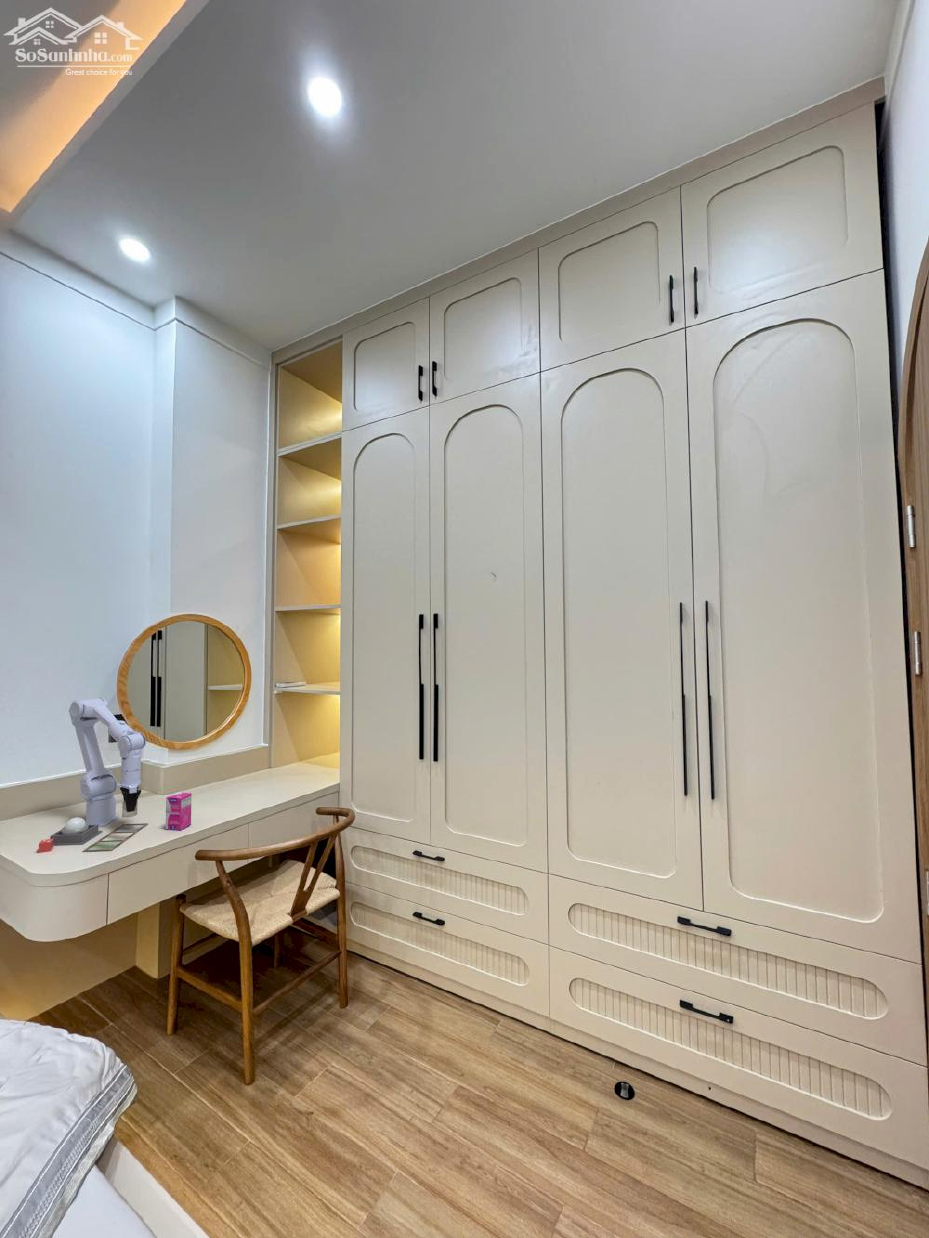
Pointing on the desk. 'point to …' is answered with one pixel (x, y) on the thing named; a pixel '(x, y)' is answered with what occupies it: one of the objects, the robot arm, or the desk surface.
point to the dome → (75, 826)
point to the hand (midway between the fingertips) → (129, 809)
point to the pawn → (128, 814)
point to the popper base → (75, 837)
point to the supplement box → (178, 811)
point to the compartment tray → (115, 838)
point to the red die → (46, 845)
